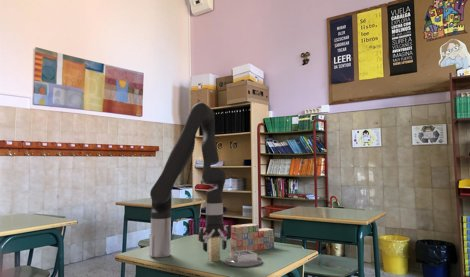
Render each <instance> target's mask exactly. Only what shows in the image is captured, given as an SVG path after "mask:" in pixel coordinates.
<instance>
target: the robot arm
mask: <svg viewBox="0 0 470 277" xmlns="http://www.w3.org/2000/svg"><path fill="white" fill-rule="evenodd" d="M215 118H216V117H215V112H214V110H213V109H212V108H211V107H210V106H209V105H207V104H205V103H204V102H201V101H200V102H197V103H195V104H194V105H193V106H192V108H191V110H190V111H189V114H188V117H187V119H186V121H185V124H184V127H183V129H182V131H181V133H180V134H179V137H178V138H177V140H176V143H175V144H174V146H173V147H172V150H171V151H170V154H169V156H168V158H167V161H166V162H165V165H164V168H163V170H162V172H161V174H160V176H159V177H158V179H157V180H156V181H155V183H154V185H153V186H152V188H151V189H150V192H149V193H150V194H149V195H150V199H151V210H150V234H149V252H148V253H149V256H150V257H151V258H165V257H166V258H167V257H170V256H171V249H172V248H171V244H172V243H171V241H172V240H171V238H172V234H171V233H172V231H171V229H172V226H171V225H172V199H173V198H172V191H173V189H174V188H173V187H174V185H175V184H176V181H177V179H178V177H179V176H180V175H181V173H182V172H183V171H184V169H185V168H186V166H187V165H188V162H189V161H190V159H191V157H192V156H193V154H194V153H193V152H194V150H195V144H196V136H197V132H198V130H199V128H200V127H201V131H202V142H201V152H202V160H203V165H202V166H203V167H202V175H201V179H202V182H204V184H206V185H215V186H214V187H213V188H211V189H208V190H206V208H205V227H202V226H201V227H199V228H198V242H200V243H202V250H203V251H204V252H207V253H208V240H209V239H210V237H215V236H217V237H220V239H222V240H221V245H222V246H221V247H222V250H224V251H225V250H226V249H227V241H229V240H231V225H228V224H227V225H226V224H225V225H224V206H223V191H224V187H225V183H226V179H227V174H226V171H225V170H224V168H221V167H216V168H215V167H213V168H212V167H211V166H214V165H217V164H218V163H219V161H220V158H219V152H218V147H217V141H216V130H215V129H216V126H215V125H216V124H215V121H216V119H215ZM205 231H206V234H205V236H204V233H205ZM223 231H225V234H224V233H223Z"/></svg>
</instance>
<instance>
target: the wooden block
mask: <svg viewBox="0 0 470 277" xmlns="http://www.w3.org/2000/svg"><path fill="white" fill-rule="evenodd" d="M207 253H208V254H207V256H208V257H207V258H208V261H209V262H219V261H220V262H221V237H220V236H218V237H217V236H215V237H210V239H209V240H208V241H207Z"/></svg>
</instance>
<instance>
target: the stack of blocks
mask: <svg viewBox="0 0 470 277" xmlns="http://www.w3.org/2000/svg"><path fill="white" fill-rule="evenodd" d="M274 234H275V230H274V229H273V228H268V227H265V228H264V227H263V228H259V224H255V223H244V224H235V225H230V235H231V239H230V242H231V243H230V251H240V250H250V251H252V252H255V250H256V251H262V250H271V249H275V235H274Z"/></svg>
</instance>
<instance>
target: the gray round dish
mask: <svg viewBox="0 0 470 277" xmlns="http://www.w3.org/2000/svg"><path fill="white" fill-rule="evenodd" d="M223 262H224V264H225V265H226V266H229V267H233V268H252V267H253V268H254V267H258V266H260V265H262V263H263V259H262V258H261V257H258V253H256V252H255V251H250V250H240V251H231V250H230V251H229V255H228V256H227V257H226V258H225V259H224V260H223Z"/></svg>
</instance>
